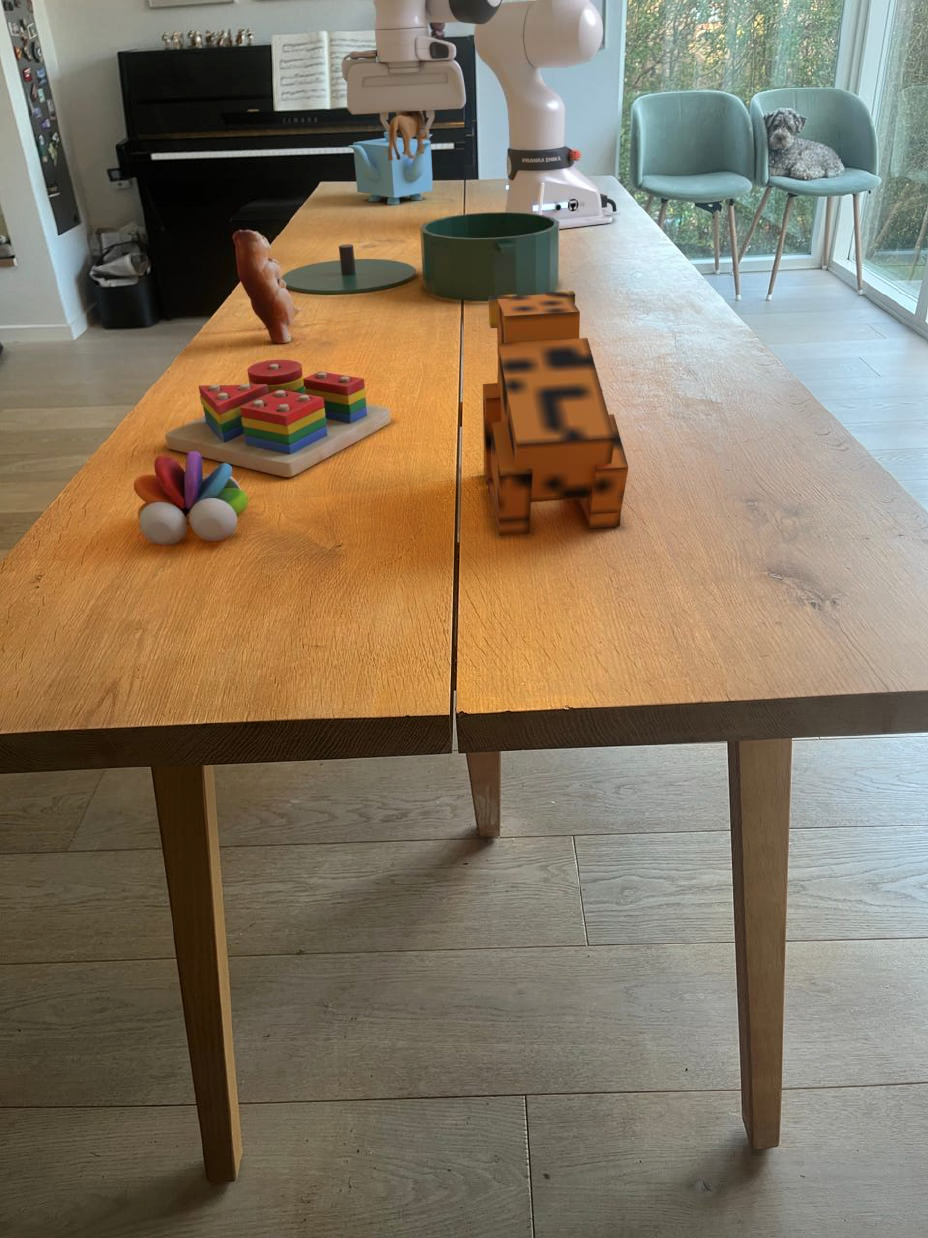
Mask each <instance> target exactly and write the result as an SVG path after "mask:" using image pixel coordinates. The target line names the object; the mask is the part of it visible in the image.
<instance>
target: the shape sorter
mask: <svg viewBox="0 0 928 1238" xmlns="http://www.w3.org/2000/svg"><path fill="white" fill-rule="evenodd" d="M302 367H303V366H302V363H300V362H299V361H296V360H292V359H269V360H265V361H260V362H256V363H253V364H252V365H250V366H249V367H248V368H247V377H248V383H243V384H211V385H207V384H206V385H203V384H201V385H198V391H199V401H200V404H201V406H202V410H203V413H204V416H202V417H198V418H196V419H195V420H192V421H190V422H187V423H186V424H183V425H181V426H179V427H176V428H174V429H172V430H170V431H168V432H166V433H165V442H166V447H167V449H169V450H173V451H176V452H180V453H184V454H187V455H188V454H189V452H191V451H197V452H199V453H200V455H201V457H202V458H206V459H209V460H213V461H217V462H221V463H227V464H229V465H233V466H237V467H241V468H246V469H249V470H254V471H257V472H262V473H266V474H271V475H275V476H278V477H282V478H292V477H295V476H296V475H298V474H301V473H302V472H304V471H306V470H307V469H309V468H311V467H313V466H316V464H318V463H320V462H322V461H324V460H326V459H328V458H329V457H331V456H333V455H335V454H337V453H340V452H341V451H343V450H344V449H346V448H348V447H349V446H351V445H353V444H355V443H357V442H359V441H361V440H362V439H365V438H367V437H368V436H370V435H372V434H373V433H375V432H377V431H379V430H381V429H383V428H384V427H387V426H388V425H389V424H391V422H392V421H391V420H392V419H391V412H390V411H391V410H390V408H388V407H384V406H379V405H374V404H368V403H367V398H366V396H367V395H366V388H365V387H366V384H365V378H362V377H358V376H350V375H344V374H337V373H331V372H326V371H317V372H316V373H313V374H310V375H308V376H307V377H304V374H303V368H302Z"/></svg>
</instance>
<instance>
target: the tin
mask: <svg viewBox="0 0 928 1238" xmlns="http://www.w3.org/2000/svg"><path fill="white" fill-rule="evenodd" d="M419 234H420V235H419V237H420V251H421V253H420V254H421V269H422V285H423V288H424V291H425V292H427V293H429V294H431V295H433V296H435V297H439V298H445V299H449V300H457V301H470V302H489V296H498V295H514V294H517V296H527V295H544V294H545V293H548V292H556V290H557V289H558V287H559V278H560V277H559V276H560V275H559V274H560V267H559V266H560V229H559V222H558V221H557V220H556V219H554V218H551V217H548V216H544V215H538V214H530V213H516V212H505V211H496V212H495V211H492V212H490V211H487V212H475V213H474V212H473V213H463V214H456V215H449V216H444V217H440V218H435V219H432V220H430V221H428V222H425V223H423V224H422V225H421V226H420V227H419Z"/></svg>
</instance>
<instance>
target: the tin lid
mask: <svg viewBox="0 0 928 1238" xmlns="http://www.w3.org/2000/svg"><path fill="white" fill-rule="evenodd" d="M338 253H339V259H337V260H336V259H335V260H329V261H323V262H316V263H311V264H307V265H304V266H300V267H297V268H294V269H291V270H288V271H287V272H285V273H284V274H283V275H282V278H281V279H282V280H284V281H285V282H286V289H287V290H291V291H294V292H299V293H304V294H311V295H314V294H315V295H348V294H349V295H352V294H362V293H370V292H376V291H382V290H387V289H391V288H394V287H398V286H401V285H404V284H407V283H408V282H410V281H413V279H415V278H416V275H417V271H416V268H415V267H414V266H413V265H411V264H409V263H406V262H402V261H398V260H391V259H381V258H355V249H354V245H353V244H347V243H346V244H341V245H339V246H338Z"/></svg>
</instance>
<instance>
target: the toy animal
mask: <svg viewBox="0 0 928 1238" xmlns="http://www.w3.org/2000/svg"><path fill="white" fill-rule="evenodd" d="M580 320H581V311H580V309H579V308H578V307H577V305H576V293H575V292H574V291H573V290H566V291H565V290H564V291H553V292H548V293H545V294H544V295H527V296H517V294H514V295H498V296H489V301H488V322H489V324H488V325H489V328H490V329H496V335H497V336H496V337H497V338H496V339H497V340H496V341H497V343H496V344H497V347H496V348H497V379H496V380H497V382H492V383H482V421H483V422H482V425H483V428H482V430H483V431H482V432H483V433H482V434H483V436H482V437H483V472H484V478H485V484H486V485H487V489H488V490H487V491H488V495H489V499H490V502H491V506H492V510H493V515H494V519H495V523H496V526H497V531H498V534H499V536H504V535H506V536H507V535H517V534H530V533H531V508H532V507H531V506H532V503H538V502H539V503H540V502H553V501H555V502H556V501H566V500H577V501H578V503H579V506H580V508H581V510H582V512H583V515H584V518H585V519H586V523H587V525H588V526H589V529H601V528H603V529H604V528H613V527H615V528H616V527H621V520H622V519H621V517H622V508H623V504H624V503H623V502H624V496H625V490H626V485H627V479H628V474H629V463H628V460H627V456H626V453H625V449H624V445H623V442H622V438H621V435H620V432H619V428H618V425H617V421H616V418H615V414H614V413H611V414H609V411H608V408H607V404H606V400H605V397H604V393H603V392H604V391H603V389H602V385H601V382H600V377H599V374H598V370H597V367H596V364H595V360H594V356H593V353H592V349H591V346H590V341H589V338H588V337H582V338H580V326H581V325H580V323H581V322H580Z"/></svg>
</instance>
